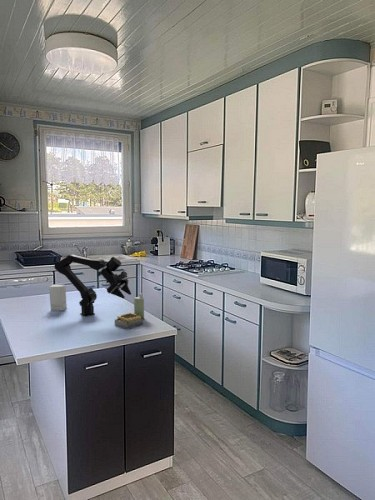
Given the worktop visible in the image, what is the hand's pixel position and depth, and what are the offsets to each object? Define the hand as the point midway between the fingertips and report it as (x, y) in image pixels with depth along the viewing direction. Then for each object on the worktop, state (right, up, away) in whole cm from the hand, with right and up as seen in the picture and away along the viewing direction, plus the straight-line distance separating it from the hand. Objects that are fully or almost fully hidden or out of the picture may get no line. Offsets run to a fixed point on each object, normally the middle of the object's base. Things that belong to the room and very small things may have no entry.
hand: (127, 296), depth 224 cm
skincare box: (-47, -11, +19) cm, 52 cm away
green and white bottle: (+7, -13, 0) cm, 15 cm away
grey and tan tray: (+2, -14, -11) cm, 18 cm away
